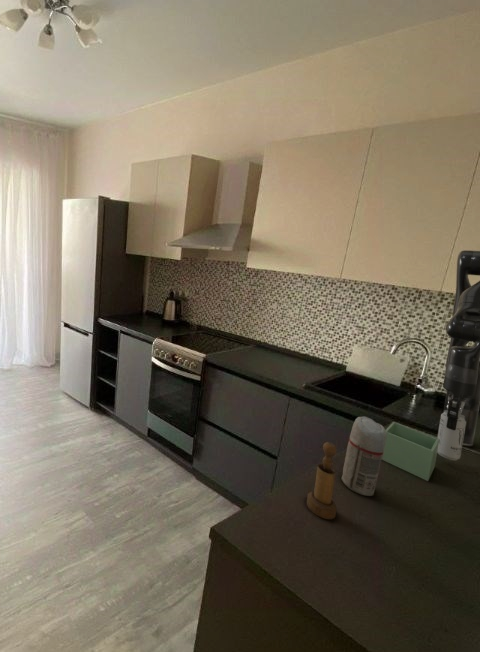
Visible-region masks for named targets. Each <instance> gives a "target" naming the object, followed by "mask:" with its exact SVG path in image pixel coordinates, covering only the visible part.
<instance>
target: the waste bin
mask: <svg viewBox="0 0 480 652" xmlns="http://www.w3.org/2000/svg"><path fill="white" fill-rule="evenodd" d="M385 431H386V440H385V446H384V452H383V456H382V460H381V461H383V462H385V463H388V464H390V465H392V466H394V467H396V468H399V469H401V470H403V471H405V472H407V473H409V474H412V475H413V476H416V477H418V478H420V479H422V480H424V481H426V482H429V480H430V478H431V476H432V474H433V471H434V469H435V467H436V462H437V455H438V453H437V451H438V445H439V439H437V437H434V436H431V435H429V434H426V433H423V432H421V431H419V430H416V429H413V428H411V427H408V426H405V425H403V424H400V423H398V422H395V421H392V422H391V423H390V424H389V426H388V427H387V428H385Z"/></svg>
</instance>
